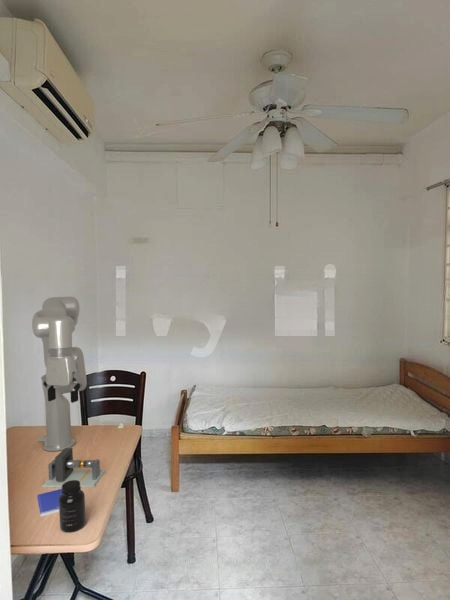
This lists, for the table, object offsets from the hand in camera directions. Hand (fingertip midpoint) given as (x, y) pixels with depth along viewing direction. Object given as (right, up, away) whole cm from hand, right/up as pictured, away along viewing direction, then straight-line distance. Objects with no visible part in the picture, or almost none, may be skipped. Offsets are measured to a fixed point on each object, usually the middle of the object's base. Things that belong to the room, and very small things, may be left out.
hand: (63, 400), depth 143 cm
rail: (+5, -27, -2) cm, 27 cm away
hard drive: (+4, -28, -17) cm, 33 cm away
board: (+5, -27, -2) cm, 27 cm away
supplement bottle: (+15, -28, -30) cm, 43 cm away
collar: (+1, -25, -2) cm, 26 cm away
